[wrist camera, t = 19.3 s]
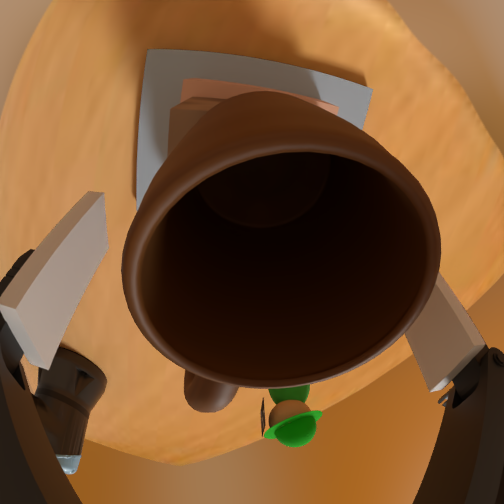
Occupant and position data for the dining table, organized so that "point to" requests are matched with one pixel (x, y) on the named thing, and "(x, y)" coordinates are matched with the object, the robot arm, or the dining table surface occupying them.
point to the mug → (277, 249)
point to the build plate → (231, 69)
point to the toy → (290, 417)
